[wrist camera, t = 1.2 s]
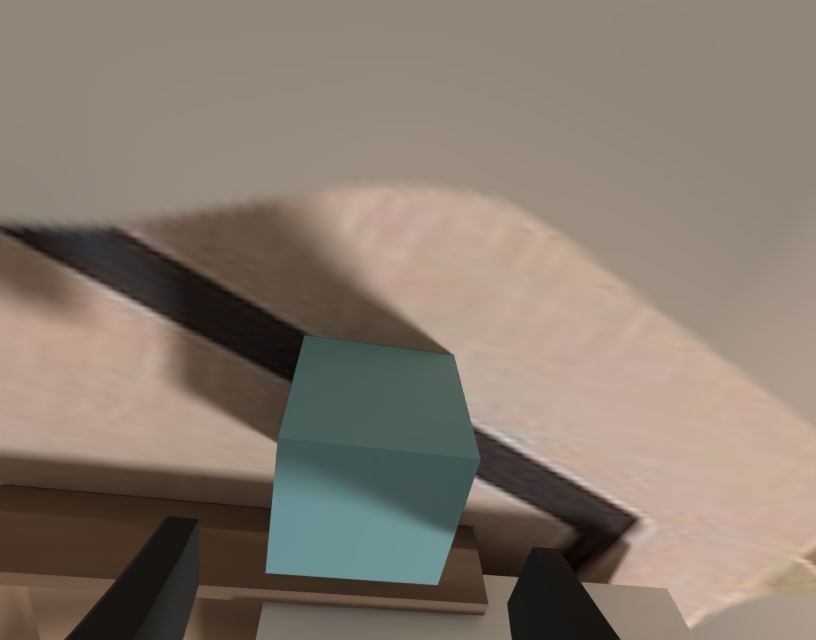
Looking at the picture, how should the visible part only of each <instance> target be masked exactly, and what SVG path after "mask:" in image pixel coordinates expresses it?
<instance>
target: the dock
mask: <svg viewBox="0 0 816 640" xmlns="http://www.w3.org/2000/svg"><path fill="white" fill-rule="evenodd" d="M168 516H171V517H182V518H194V519H199V586H198V589H197V593H196V596H195V600H194V604H193V607H192V611H191V614H190V618H189V621H188V625H187V628H186V631H185V635H184V638H183V640H256V636H257V631H258V626H259V621H260V616H261V612H262V607H263V602H275V603H291V604H306V605H322V606H338V607H354V608H369V609H385V610H401V611H416V612H432V613H448V614H464V615H479V616H484V614H485V612H486V609H487V607H488V605H489V604H488V599H487V594H486V589H485V584H484V579H483V574H482V569H481V565H480V560H479V555H478V550H477V545H476V540H475V535H474V530H473V527H469V526H458V527H457V530H456V533H455V536H454V539H453V542H452V544H451V547H450V550H449V553H448V556H447V559H446V562H445V565H444V568H443V571H442V574H441V577H440V580H439V583H438V585H428V584H414V583H400V582H386V581H372V580H358V579H344V578H330V577H315V576H301V575H287V574H273V573H266V563H267V552H268V541H269V530H270V519H271V509H265V508H254V507H243V506H232V505H220V504H209V503H198V502H186V501H175V500H164V499H152V498H141V497H130V496H119V495H107V494H96V493H85V492H73V491H62V490H51V489H40V488H28V487H17V486H6V485H2V486H1V487H0V640H64V639H65V638H66V637H67V636H68V635H69V634H70V633H71V632H72V630H73V629H74V628H75V627H76V626H77V625H78V624H79V623H80V621H81V620H82V619H83V618H84V617H85V616H86V615H87V613H88V612H89V611H90V610H91V609H92V608H93V606H94V605H95V604H96V603H97V602H98V601H99V599H100V598H101V597H102V596H103V595H104V594H105V592H106V591H107V590H108V589H109V588H110V587H111V586H112V584H113V583H114V582H115V581H116V579H117V578H118V577H119V576H120V575H121V573H122V572H123V571H124V570H125V568H126V567H127V566H128V565H129V564H130V562H131V561H132V560H133V558H134V557H135V556H136V555H137V553H138V552H139V551H140V550H141V548H142V547H143V546H144V544H145V543H146V542H147V540H148V539H149V538H150V536H151V535H152V534H153V532H154V531H155V530H156V528H157V527H158V525H159V524H160V523H161V521H162V520H163V519H165V518H166V517H168Z"/></svg>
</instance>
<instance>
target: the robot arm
mask: <svg viewBox="0 0 816 640" xmlns="http://www.w3.org/2000/svg"><path fill="white" fill-rule="evenodd" d="M198 586H199V519H194V518H182V517H171V516H168V517H166V518H165V519H163V520H162V521H161V523H160V524H159V525H158V527H157V528H156V530H155V531H154V532H153V534H152V535H151V536H150V538H149V539H148V540H147V542H146V543H145V544H144V546H143V547H142V548H141V550H140V551H139V552H138V553H137V555H136V556H135V557H134V558H133V560H132V561H131V562H130V564H129V565H128V566H127V567H126V568H125V570H124V571H123V572H122V573H121V575H120V576H119V577H118V578H117V579H116V581H115V582H114V583H113V584H112V586H111V587H110V588H109V589H108V590H107V591H106V592H105V594H104V595H103V596H102V597H101V598H100V599H99V601H98V602H97V603H96V604H95V605H94V606H93V608H92V609H91V610H90V611H89V612H88V613H87V615H86V616H85V617H84V618H83V619H82V620H81V621H80V623H79V624H78V625H77V626H76V627H75V628H74V629H73V630H72V632H71V633H70V634H69V635H68V636H67V637H66V638H65V639H64V640H183V638H184V635H185V631H186V628H187V625H188V621H189V618H190V614H191V611H192V607H193V604H194V600H195V596H196V593H197V589H198ZM507 607H508V615H509V624H510V632H511V638H512V640H621V639H620V638H619V636H618V635H617V634H616V632H615V631H614V629H613V628H612V627H611V625H610V624H609V622H608V621H607V619H606V618H605V617H604V615H603V614H602V612H601V611H600V609H599V608H598V606H597V605H596V604H595V602H594V601H593V599H592V598H591V596H590V595H589V593H588V592H587V590H586V589H585V588H584V586H583V585H582V583H581V582H580V580H579V579H578V577H577V576H576V574H575V573H574V571H573V570H572V568H571V567H570V566H569V564H568V563H567V561H566V560H565V558H564V557H563V555H562V554H561V553H560V551H559V550H558V549H548V548H536V547H533V548H532V550H531V552H530V554H529V556H528V558H527V561H526V563H525V565H524V567H523V569H522V572H521V574H520V576H519V578H518V580H517V583H516V585H515V587H514V589H513V591H512V594H511V596H510V598H509V600H508V602H507Z"/></svg>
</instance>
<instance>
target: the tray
mask: <svg viewBox="0 0 816 640" xmlns="http://www.w3.org/2000/svg"><path fill="white" fill-rule="evenodd" d="M518 578H519V577H506V576H492V575H483V579H484V584H485V589H486V594H487V599H488V604H489V605H488V607H487V609H486V612H485V614H484V616H479V615H464V614H448V613H432V612H416V611H401V610H385V609H369V608H354V607H338V606H322V605H306V604H291V603H275V602H263V607H262V612H261V616H260V621H259V626H258V631H257V636H256V640H512V638H511V632H510V624H509V615H508V607H507V602H508V600H509V598H510V596H511V594H512V591H513V589H514V587H515V585H516V583H517V580H518ZM581 583H582V585H583V586H584V588H585V589H586V590H587V592H588V593H589V595H590V596H591V598H592V599H593V601H594V602H595V604H596V605H597V606H598V608H599V609H600V611H601V612H602V614H603V615H604V617H605V618H606V619H607V621H608V622H609V624H610V625H611V627H612V628H613V629H614V631H615V632H616V634H617V635H618V636H619V638H620V639H621V640H695V639H694V637H693V635H692V634H691V632H690V630H689V628H688V626H687V624H686V622H685V621H684V619H683V617H682V615H681V613H680V611H679V610H678V608H677V606H676V604H675V602H674V600H673V599H672V597H671V595H670V593H669V591H668V589H665V588H652V587H639V586H625V585H612V584H599V583H585V582H581Z"/></svg>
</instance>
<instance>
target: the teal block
mask: <svg viewBox="0 0 816 640" xmlns="http://www.w3.org/2000/svg"><path fill="white" fill-rule="evenodd" d="M480 460H481V459H480V455H479V451H478V448H477V444H476V440H475V436H474V432H473V428H472V424H471V420H470V416H469V412H468V408H467V404H466V401H465V397H464V393H463V389H462V385H461V381H460V377H459V373H458V369H457V365H456V361H455V358H454V355H448V354H441V353H433V352H426V351H419V350H411V349H404V348H397V347H389V346H382V345H375V344H367V343H360V342H353V341H345V340H338V339H331V338H323V337H316V336H308V335H304V339H303V343H302V347H301V351H300V355H299V358H298V362H297V366H296V370H295V374H294V378H293V382H292V385H291V389H290V393H289V397H288V401H287V405H286V409H285V412H284V416H283V420H282V424H281V428H280V432H279V436H278V443H277V454H276V465H275V476H274V487H273V497H272V508H271V519H270V530H269V541H268V552H267V563H266V573H273V574H287V575H301V576H315V577H330V578H344V579H358V580H372V581H386V582H400V583H414V584H428V585H438V583H439V580H440V577H441V574H442V571H443V568H444V565H445V562H446V559H447V556H448V553H449V550H450V547H451V544H452V542H453V539H454V536H455V533H456V530H457V527H458V524H459V521H460V518H461V515H462V512H463V509H464V506H465V503H466V501H467V498H468V495H469V492H470V489H471V486H472V483H473V480H474V477H475V474H476V471H477V468H478V465H479V462H480Z"/></svg>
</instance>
